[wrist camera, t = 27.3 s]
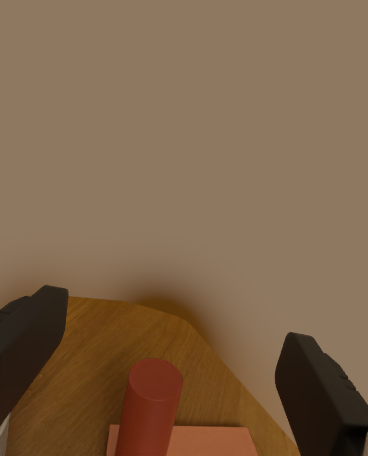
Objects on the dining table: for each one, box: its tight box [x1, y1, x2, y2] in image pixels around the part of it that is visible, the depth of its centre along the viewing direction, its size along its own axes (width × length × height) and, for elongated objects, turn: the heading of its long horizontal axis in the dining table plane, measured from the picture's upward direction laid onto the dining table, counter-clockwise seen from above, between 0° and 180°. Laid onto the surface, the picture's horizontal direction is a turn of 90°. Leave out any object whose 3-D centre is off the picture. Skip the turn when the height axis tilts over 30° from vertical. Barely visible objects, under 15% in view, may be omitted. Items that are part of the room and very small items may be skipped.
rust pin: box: [114, 358, 183, 456], centre depth 25 cm, size 5×5×11 cm
